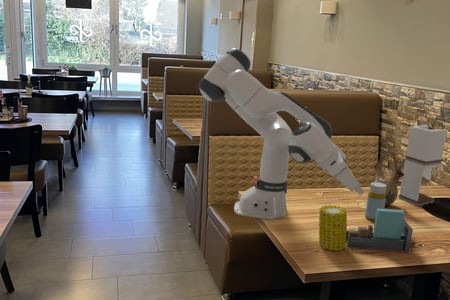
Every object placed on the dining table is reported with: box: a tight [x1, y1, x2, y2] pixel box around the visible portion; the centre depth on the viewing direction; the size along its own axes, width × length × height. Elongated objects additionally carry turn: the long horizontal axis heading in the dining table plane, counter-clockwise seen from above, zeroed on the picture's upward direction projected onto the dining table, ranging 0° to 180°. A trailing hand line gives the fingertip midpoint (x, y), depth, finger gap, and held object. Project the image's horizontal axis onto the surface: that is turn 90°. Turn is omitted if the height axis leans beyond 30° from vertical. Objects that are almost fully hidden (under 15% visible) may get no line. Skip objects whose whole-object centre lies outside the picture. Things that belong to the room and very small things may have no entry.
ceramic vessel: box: [372, 150, 404, 207], centre depth 194 cm, size 16×9×25 cm, turn 30°
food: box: [318, 204, 348, 252], centre depth 152 cm, size 15×12×10 cm
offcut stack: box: [347, 224, 374, 240], centre depth 155 cm, size 8×2×8 cm, turn 87°
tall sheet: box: [373, 208, 405, 239], centre depth 153 cm, size 9×2×14 cm, turn 87°
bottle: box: [364, 181, 386, 222], centre depth 178 cm, size 7×7×15 cm
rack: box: [346, 220, 414, 254], centre depth 154 cm, size 21×8×9 cm, turn 87°
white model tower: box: [398, 124, 448, 207], centre depth 200 cm, size 11×11×35 cm
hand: (358, 188), depth 150 cm, fingers open, 8 cm apart
